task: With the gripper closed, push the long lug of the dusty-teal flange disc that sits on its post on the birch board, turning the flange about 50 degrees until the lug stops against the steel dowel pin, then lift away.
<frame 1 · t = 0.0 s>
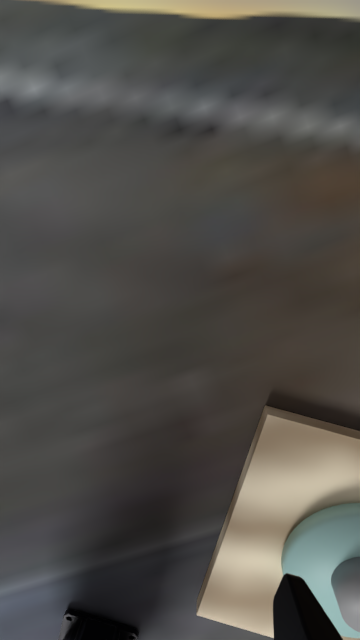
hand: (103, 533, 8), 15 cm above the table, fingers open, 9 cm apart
post board: (347, 544, 25), on the table
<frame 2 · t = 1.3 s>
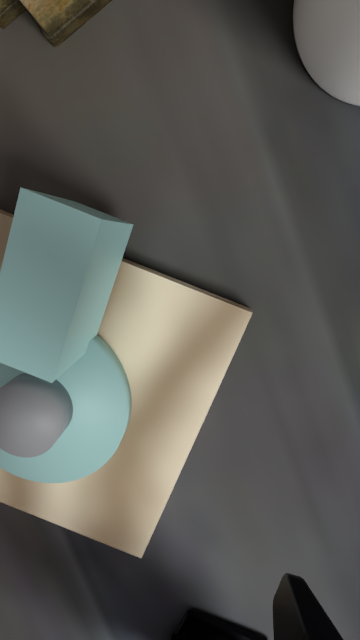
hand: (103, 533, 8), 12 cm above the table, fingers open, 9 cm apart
flange: (40, 367, 17), point 4 cm above the table, hinge at 0.0°
post board: (59, 385, 21), on the table
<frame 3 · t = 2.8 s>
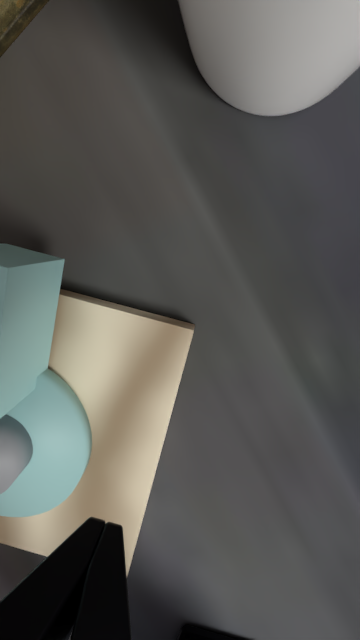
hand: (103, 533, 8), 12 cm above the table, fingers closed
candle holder: (277, 19, 16), on the table
post board: (24, 418, 22), on the table
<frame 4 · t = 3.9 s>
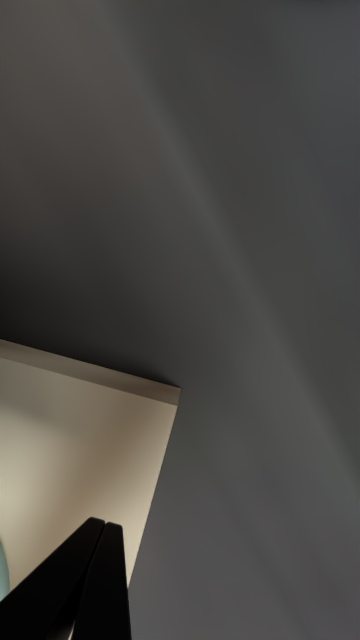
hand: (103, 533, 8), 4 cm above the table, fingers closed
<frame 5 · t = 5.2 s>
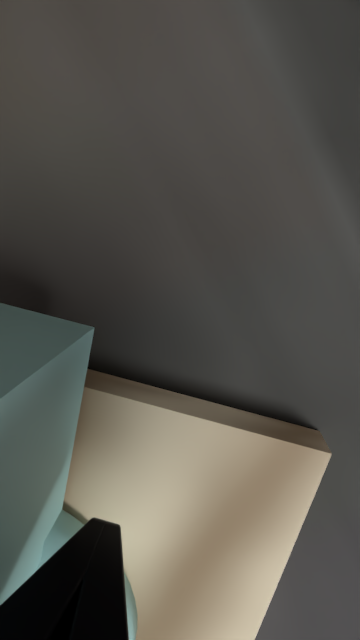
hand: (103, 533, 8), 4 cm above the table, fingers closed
post board: (23, 563, 14), on the table
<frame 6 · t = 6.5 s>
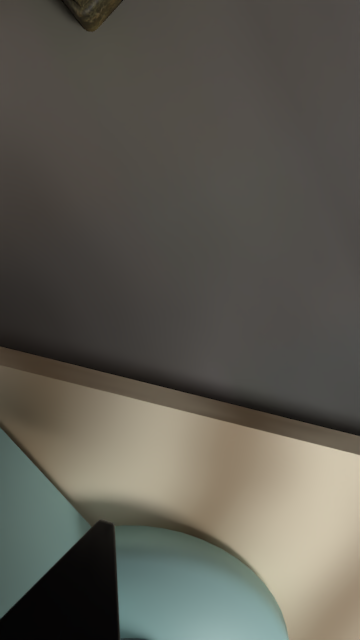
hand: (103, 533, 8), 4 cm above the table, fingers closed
post board: (150, 597, 14), on the table
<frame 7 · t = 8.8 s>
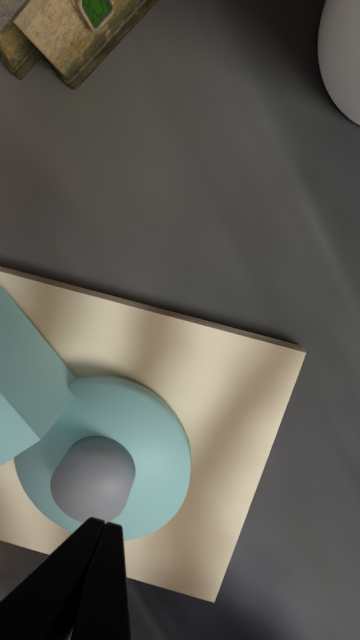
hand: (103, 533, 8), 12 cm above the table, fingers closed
flange: (54, 440, 17), point 4 cm above the table, hinge at 50.0°, touching post board
post board: (113, 439, 21), on the table
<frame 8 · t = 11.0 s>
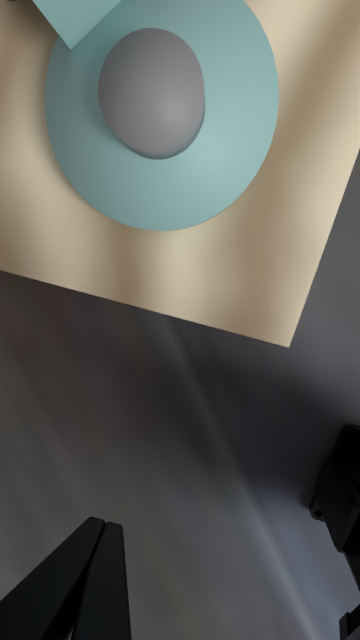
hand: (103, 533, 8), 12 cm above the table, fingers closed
flange: (104, 25, 13), point 4 cm above the table, hinge at 50.0°, touching post board
post board: (166, 128, 17), on the table
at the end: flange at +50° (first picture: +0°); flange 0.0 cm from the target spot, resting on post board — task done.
